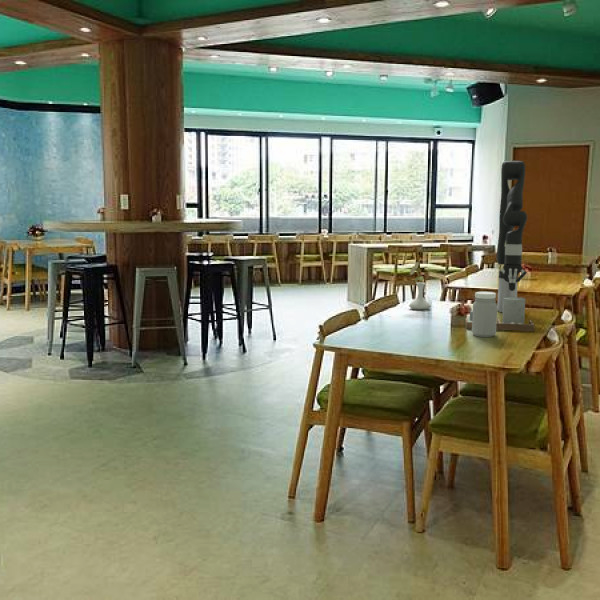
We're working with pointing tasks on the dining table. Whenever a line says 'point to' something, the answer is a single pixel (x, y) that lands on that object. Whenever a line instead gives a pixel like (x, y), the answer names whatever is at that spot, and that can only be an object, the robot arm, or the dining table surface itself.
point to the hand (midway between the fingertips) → (511, 290)
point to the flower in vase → (419, 293)
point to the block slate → (471, 314)
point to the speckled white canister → (513, 310)
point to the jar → (484, 314)
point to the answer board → (508, 326)
